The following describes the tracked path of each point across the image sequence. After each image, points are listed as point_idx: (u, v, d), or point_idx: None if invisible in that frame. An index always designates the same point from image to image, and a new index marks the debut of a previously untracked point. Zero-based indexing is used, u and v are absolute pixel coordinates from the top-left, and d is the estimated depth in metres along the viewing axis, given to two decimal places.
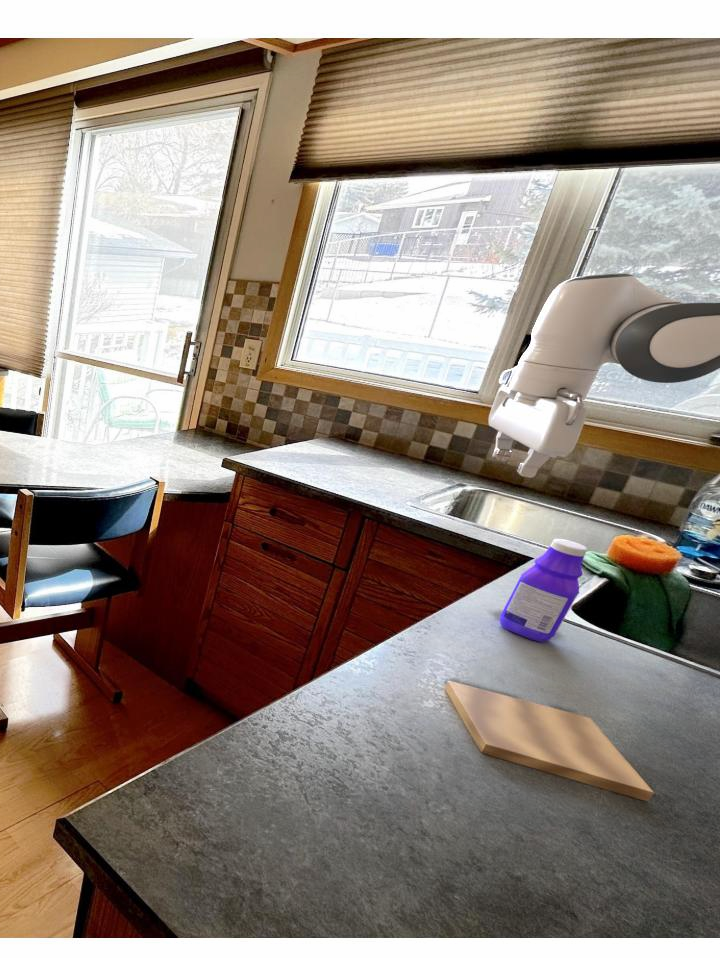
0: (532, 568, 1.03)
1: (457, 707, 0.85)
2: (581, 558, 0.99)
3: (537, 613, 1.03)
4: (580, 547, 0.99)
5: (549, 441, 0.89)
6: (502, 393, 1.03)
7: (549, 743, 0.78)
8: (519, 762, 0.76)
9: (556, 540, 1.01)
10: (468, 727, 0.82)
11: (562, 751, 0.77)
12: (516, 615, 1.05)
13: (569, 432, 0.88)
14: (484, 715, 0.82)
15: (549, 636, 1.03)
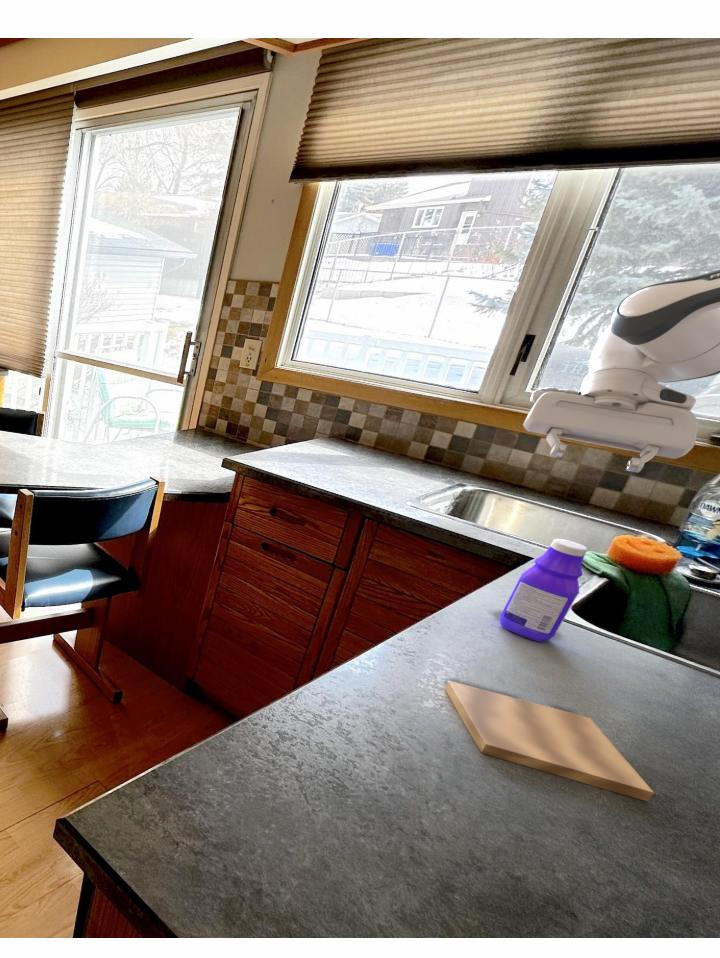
0: (532, 568, 1.03)
1: (457, 707, 0.85)
2: (581, 558, 0.99)
3: (537, 613, 1.03)
4: (580, 547, 0.99)
5: None
6: None
7: (549, 743, 0.78)
8: (519, 762, 0.76)
9: (556, 540, 1.01)
10: (468, 727, 0.82)
11: (562, 751, 0.77)
12: (516, 615, 1.05)
13: None
14: (484, 715, 0.82)
15: (549, 636, 1.03)
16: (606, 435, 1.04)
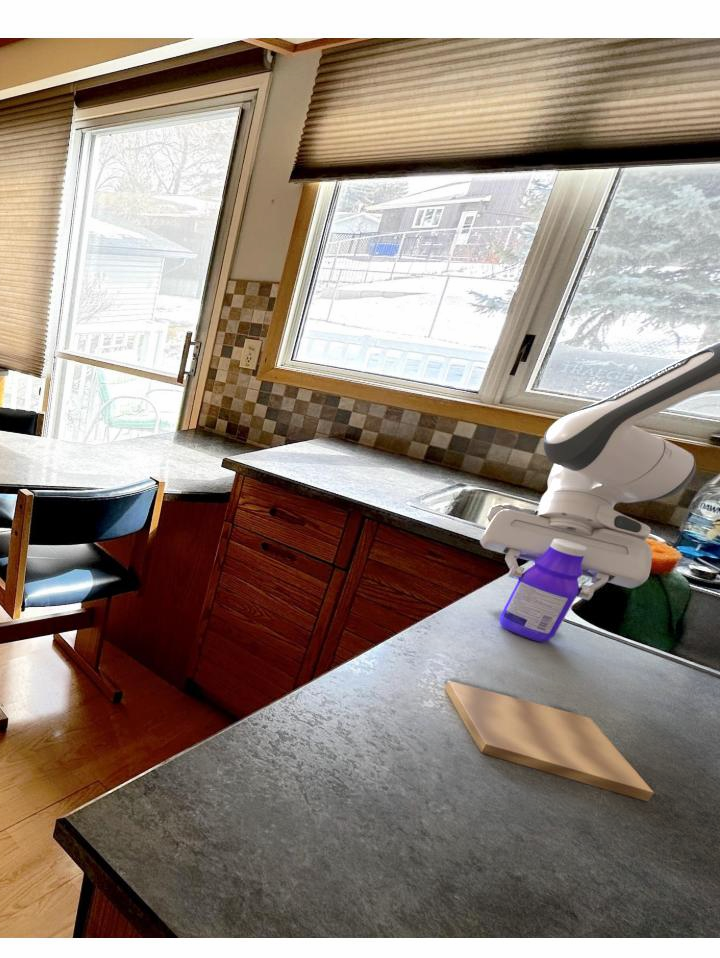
0: (532, 568, 1.04)
1: (457, 707, 0.85)
2: (581, 558, 0.99)
3: (537, 613, 1.03)
4: (580, 547, 0.99)
5: None
6: None
7: (549, 743, 0.78)
8: (519, 762, 0.76)
9: (556, 540, 1.01)
10: (468, 727, 0.82)
11: (562, 751, 0.77)
12: (516, 615, 1.05)
13: (488, 525, 1.10)
14: (484, 715, 0.82)
15: (549, 636, 1.03)
16: None
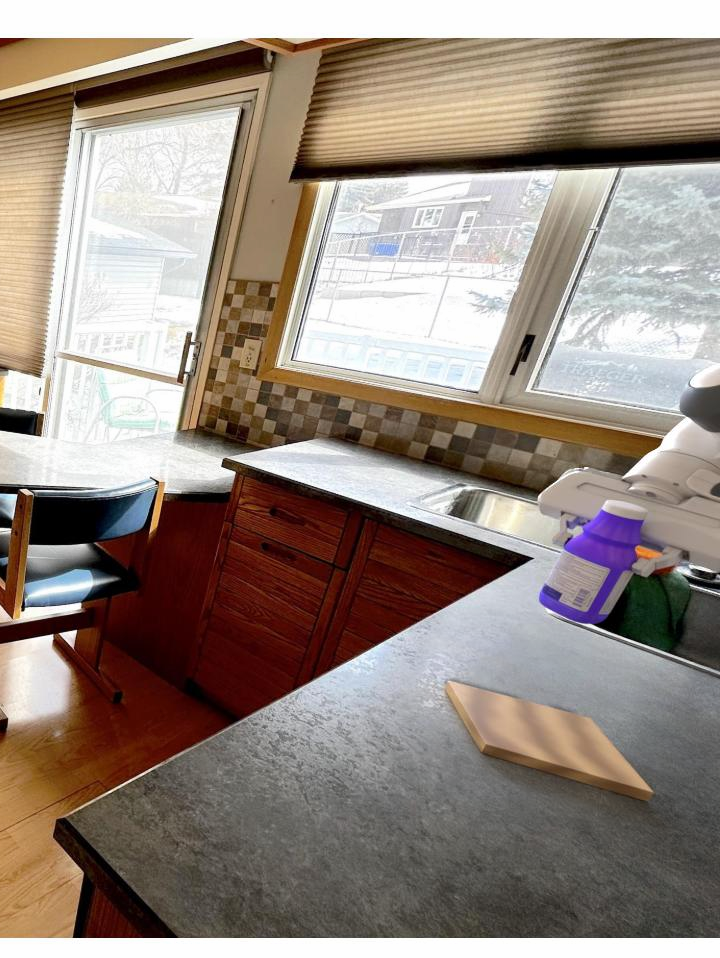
0: (580, 534, 0.87)
1: (457, 707, 0.85)
2: (636, 523, 0.82)
3: (573, 586, 0.86)
4: (636, 509, 0.82)
5: None
6: None
7: (549, 743, 0.78)
8: (519, 762, 0.76)
9: (610, 500, 0.84)
10: (468, 727, 0.82)
11: (562, 751, 0.77)
12: (552, 588, 0.89)
13: None
14: (484, 715, 0.82)
15: (588, 616, 0.86)
16: None
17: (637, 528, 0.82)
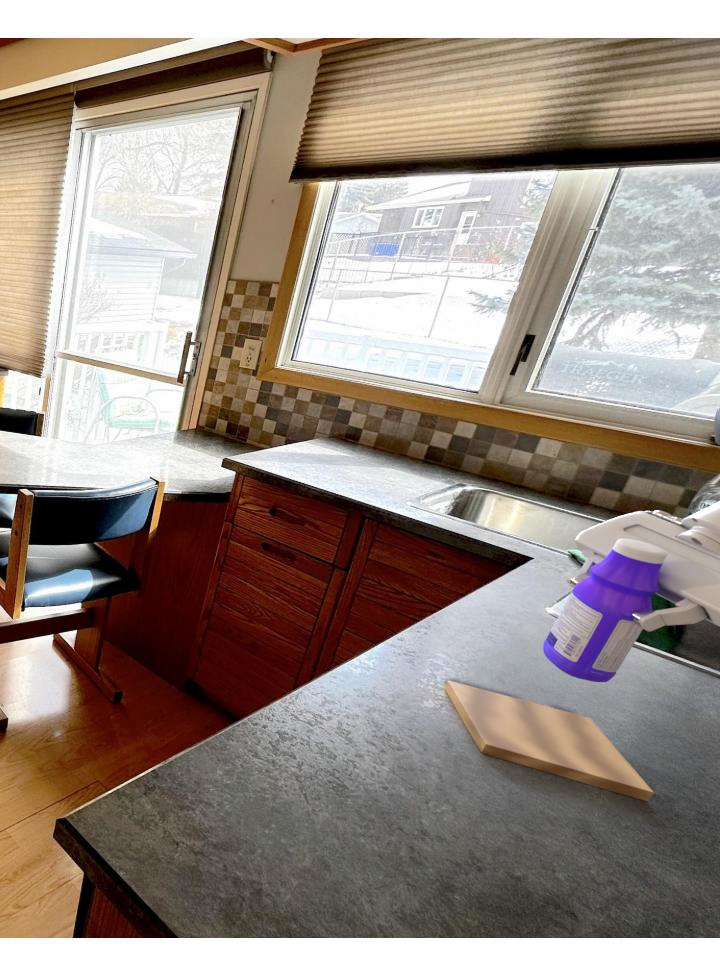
0: None
1: (457, 707, 0.85)
2: (642, 565, 0.70)
3: (568, 631, 0.75)
4: (646, 549, 0.70)
5: None
6: None
7: (549, 743, 0.78)
8: (519, 762, 0.76)
9: (627, 539, 0.72)
10: (468, 727, 0.82)
11: (562, 751, 0.77)
12: (552, 633, 0.78)
13: None
14: (484, 715, 0.82)
15: (577, 668, 0.74)
16: None
17: (645, 572, 0.70)
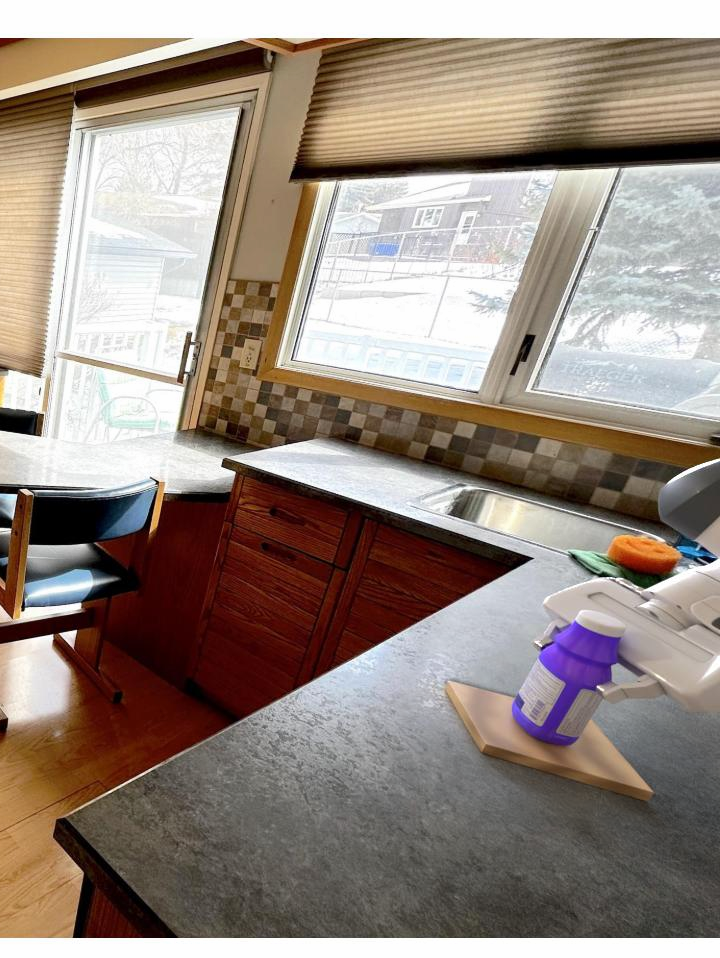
0: None
1: (457, 707, 0.85)
2: (602, 638, 0.73)
3: (534, 696, 0.79)
4: (606, 623, 0.73)
5: None
6: None
7: (549, 743, 0.78)
8: (519, 762, 0.76)
9: (589, 611, 0.76)
10: (468, 727, 0.82)
11: (562, 751, 0.77)
12: (520, 696, 0.81)
13: None
14: (484, 715, 0.82)
15: (542, 732, 0.78)
16: None
17: (605, 645, 0.73)
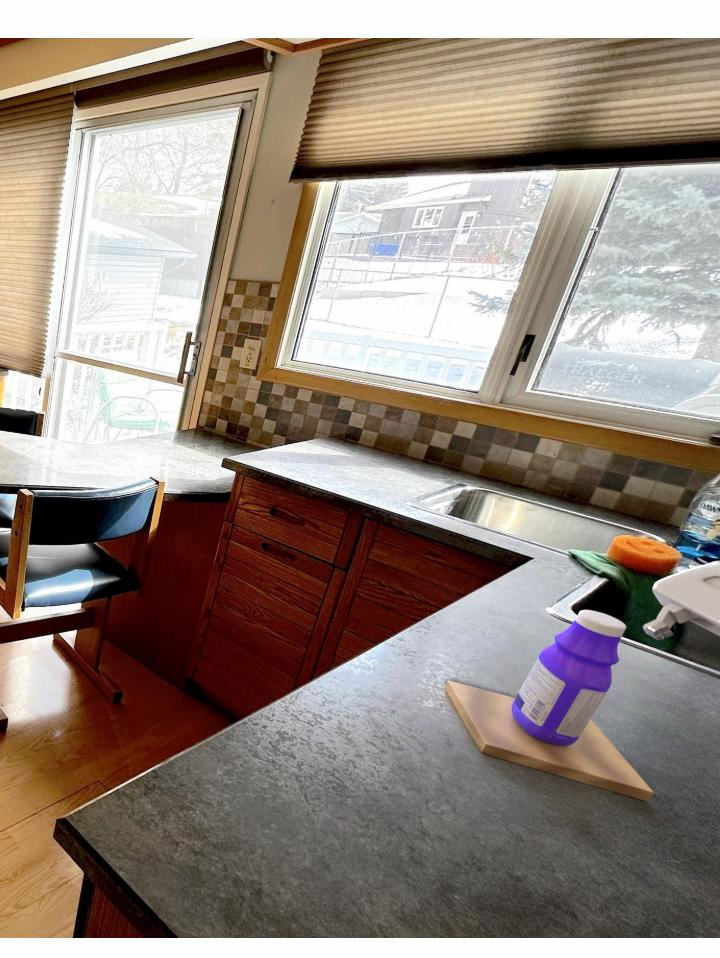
0: None
1: (457, 707, 0.85)
2: (602, 638, 0.73)
3: (533, 696, 0.79)
4: (606, 623, 0.73)
5: None
6: None
7: (549, 743, 0.78)
8: (519, 762, 0.76)
9: (589, 610, 0.76)
10: (468, 727, 0.82)
11: (562, 751, 0.77)
12: (520, 696, 0.81)
13: None
14: (484, 715, 0.82)
15: (542, 732, 0.78)
16: None
17: (605, 645, 0.73)
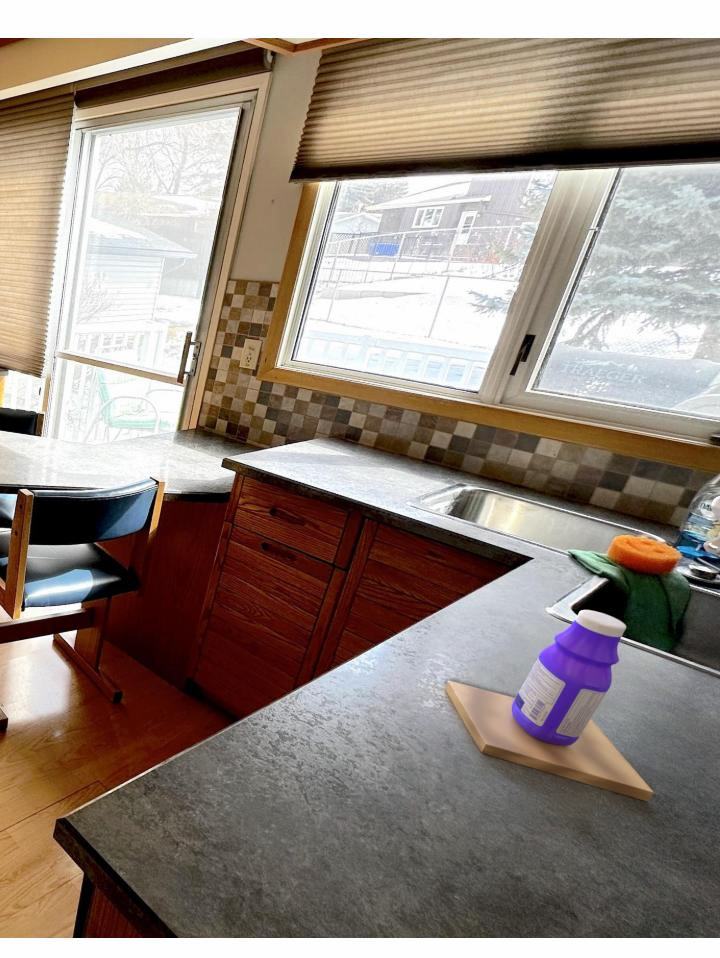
0: None
1: (457, 707, 0.85)
2: (602, 638, 0.73)
3: (533, 696, 0.79)
4: (606, 623, 0.73)
5: None
6: None
7: (549, 743, 0.78)
8: (519, 762, 0.76)
9: (589, 610, 0.76)
10: (468, 727, 0.82)
11: (562, 751, 0.77)
12: (520, 696, 0.81)
13: None
14: (484, 715, 0.82)
15: (542, 732, 0.78)
16: None
17: (605, 645, 0.73)
